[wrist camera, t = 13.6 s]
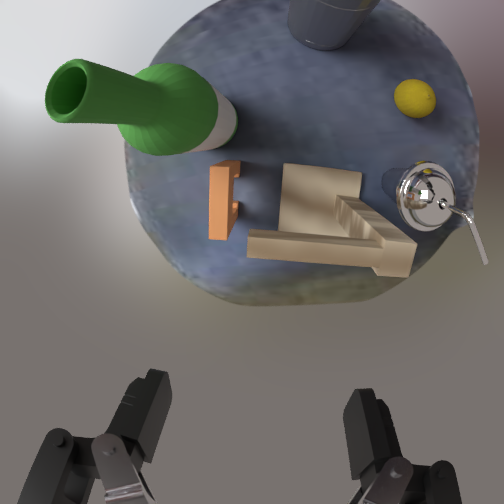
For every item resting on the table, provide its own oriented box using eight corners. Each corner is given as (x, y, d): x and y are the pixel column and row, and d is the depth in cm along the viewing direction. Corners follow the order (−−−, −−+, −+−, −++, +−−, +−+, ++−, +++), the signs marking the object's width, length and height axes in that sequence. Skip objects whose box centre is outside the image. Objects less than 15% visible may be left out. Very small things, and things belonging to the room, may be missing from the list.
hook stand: (261, 161, 37) (251, 179, 19) (359, 171, 37) (431, 202, 18) (257, 229, 41) (244, 304, 23) (349, 237, 40) (401, 312, 22)
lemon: (390, 120, 33) (416, 117, 26) (382, 84, 31) (405, 74, 24) (421, 118, 32) (449, 116, 25) (412, 83, 30) (439, 75, 23)
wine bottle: (208, 86, 33) (73, -7, 6) (251, 118, 35) (188, 48, 7) (174, 128, 36) (-3, 129, 8) (215, 160, 38) (78, 215, 10)
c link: (226, 160, 37) (210, 166, 28) (240, 160, 37) (229, 166, 28) (224, 214, 41) (209, 238, 31) (238, 215, 40) (226, 240, 31)
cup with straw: (415, 153, 35) (506, 172, 16) (419, 210, 38) (499, 262, 19) (366, 157, 36) (442, 175, 17) (371, 217, 39) (438, 278, 20)
